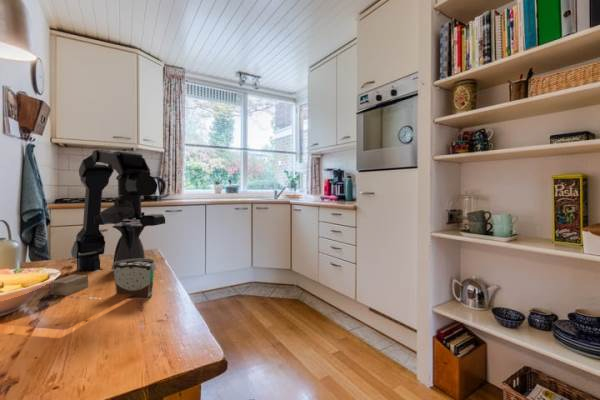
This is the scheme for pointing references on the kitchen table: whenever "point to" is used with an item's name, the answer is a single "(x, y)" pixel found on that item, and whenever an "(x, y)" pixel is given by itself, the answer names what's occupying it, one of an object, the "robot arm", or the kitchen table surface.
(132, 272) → the food container
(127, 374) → the kitchen table surface
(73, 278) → the grey rectangular block
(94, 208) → the robot arm
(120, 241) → the dark grey rounded cone
